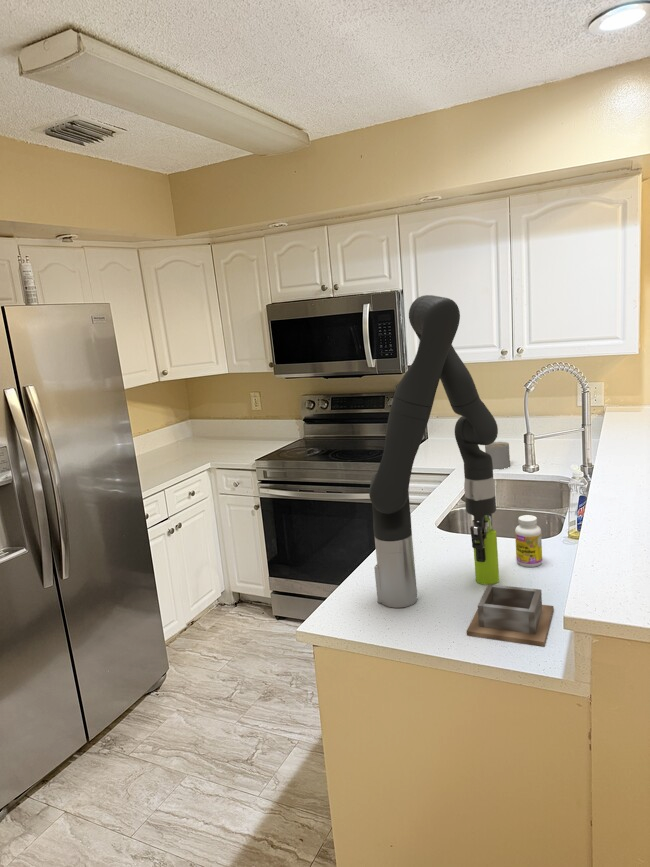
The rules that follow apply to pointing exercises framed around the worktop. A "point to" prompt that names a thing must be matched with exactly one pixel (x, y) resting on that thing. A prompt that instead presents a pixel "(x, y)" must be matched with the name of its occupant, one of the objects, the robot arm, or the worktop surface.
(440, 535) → the worktop surface
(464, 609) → the worktop surface
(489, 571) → the soap dispenser
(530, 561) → the supplement bottle
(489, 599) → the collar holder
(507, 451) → the coffee mug
